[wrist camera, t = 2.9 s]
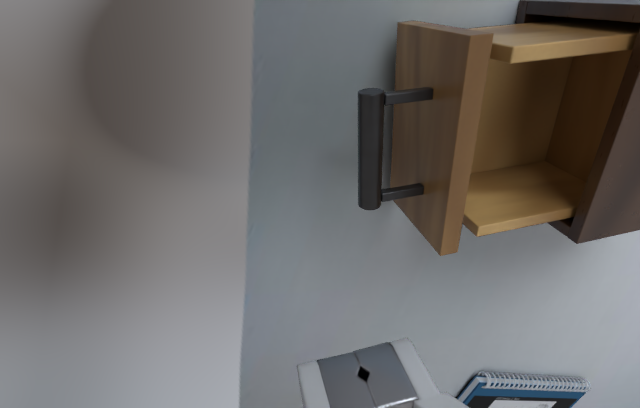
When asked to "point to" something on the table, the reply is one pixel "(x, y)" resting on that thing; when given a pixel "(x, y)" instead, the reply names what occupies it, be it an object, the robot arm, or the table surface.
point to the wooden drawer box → (619, 135)
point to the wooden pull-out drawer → (491, 123)
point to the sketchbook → (522, 391)
